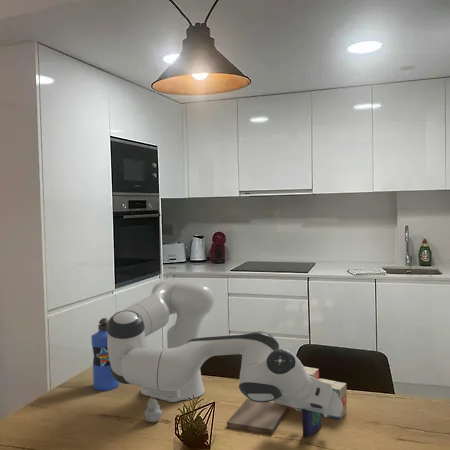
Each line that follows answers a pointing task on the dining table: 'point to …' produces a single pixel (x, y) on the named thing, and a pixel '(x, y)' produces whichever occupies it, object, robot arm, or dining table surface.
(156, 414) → the rubber duck
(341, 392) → the stack of blocks
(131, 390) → the dining table surface
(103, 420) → the dining table surface
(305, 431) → the flask
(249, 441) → the dining table surface
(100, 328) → the water bottle
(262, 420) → the walnut board
